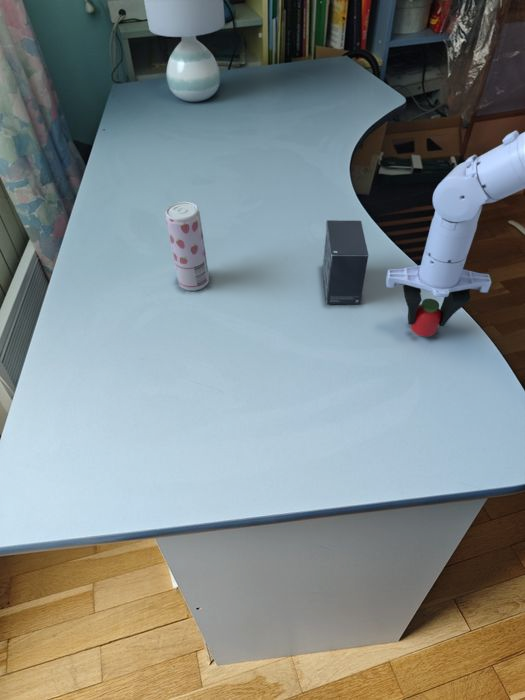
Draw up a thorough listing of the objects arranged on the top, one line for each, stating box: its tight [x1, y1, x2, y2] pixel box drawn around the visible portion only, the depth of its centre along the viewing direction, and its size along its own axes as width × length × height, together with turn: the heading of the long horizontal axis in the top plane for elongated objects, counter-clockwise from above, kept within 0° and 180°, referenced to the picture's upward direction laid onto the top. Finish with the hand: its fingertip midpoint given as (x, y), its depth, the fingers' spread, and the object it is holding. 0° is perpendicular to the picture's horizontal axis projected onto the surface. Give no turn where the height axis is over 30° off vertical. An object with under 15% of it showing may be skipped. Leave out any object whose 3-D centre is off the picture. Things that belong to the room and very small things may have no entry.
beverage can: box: [165, 201, 210, 292], centre depth 84 cm, size 6×6×15 cm
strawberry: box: [410, 298, 441, 337], centre depth 77 cm, size 4×4×5 cm
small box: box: [321, 219, 370, 305], centre depth 84 cm, size 11×6×10 cm, turn 179°
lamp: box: [143, 0, 226, 103], centre depth 138 cm, size 22×22×40 cm
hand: (425, 321), depth 78 cm, fingers closed on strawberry, 4 cm apart
